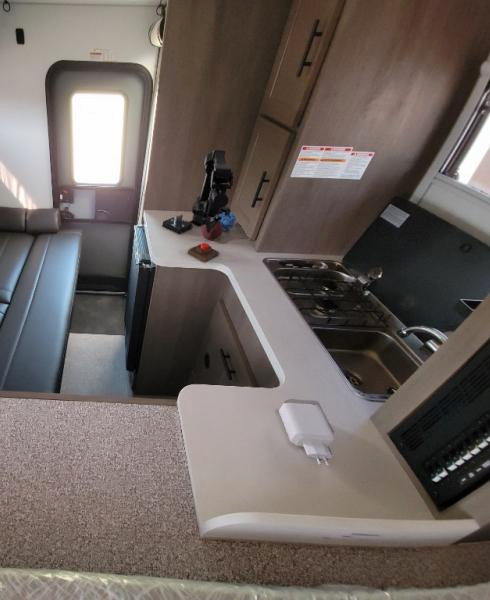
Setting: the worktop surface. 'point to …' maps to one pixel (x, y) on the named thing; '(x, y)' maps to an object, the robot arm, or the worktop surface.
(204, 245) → the power button
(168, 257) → the worktop surface
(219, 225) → the decorative ball
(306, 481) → the worktop surface
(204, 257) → the block
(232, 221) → the blue bumpy cluster
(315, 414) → the charger
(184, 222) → the dial panel
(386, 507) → the worktop surface
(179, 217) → the dial
